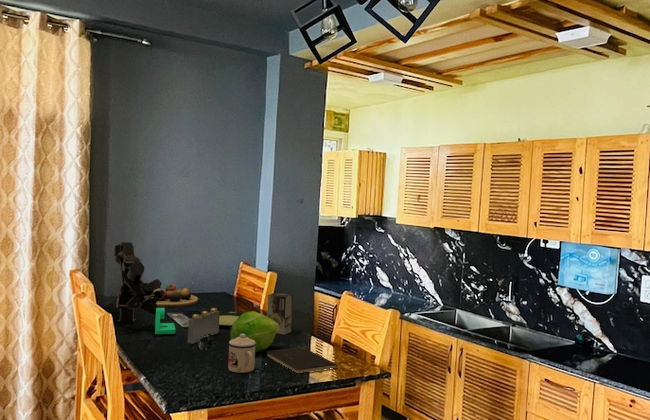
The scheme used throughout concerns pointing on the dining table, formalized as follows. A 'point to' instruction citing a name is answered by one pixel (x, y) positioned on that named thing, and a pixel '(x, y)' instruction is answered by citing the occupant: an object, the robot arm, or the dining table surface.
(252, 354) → the teacup with lid
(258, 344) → the lettuce
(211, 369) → the dining table surface
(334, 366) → the hardcover book
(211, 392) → the dining table surface
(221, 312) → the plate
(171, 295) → the wooden plate with food
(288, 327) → the coffee box
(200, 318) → the grey upright panel
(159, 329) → the camera mount
